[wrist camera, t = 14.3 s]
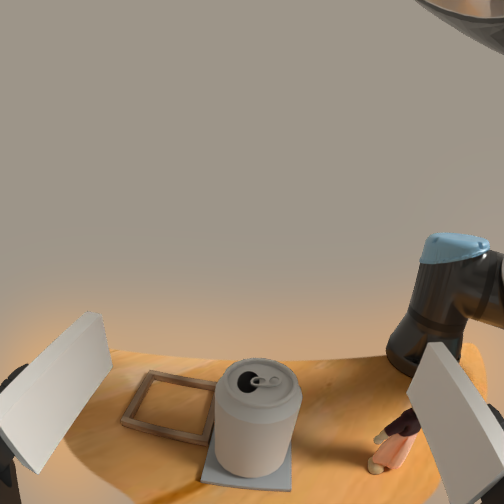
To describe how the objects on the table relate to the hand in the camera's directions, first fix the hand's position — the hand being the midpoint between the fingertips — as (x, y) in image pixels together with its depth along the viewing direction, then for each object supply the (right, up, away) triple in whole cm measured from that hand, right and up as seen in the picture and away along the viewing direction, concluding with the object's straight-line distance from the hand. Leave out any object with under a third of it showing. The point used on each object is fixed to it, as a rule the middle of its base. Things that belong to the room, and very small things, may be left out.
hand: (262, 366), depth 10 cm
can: (-1, -18, +15) cm, 23 cm away
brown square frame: (-10, -15, +22) cm, 29 cm away
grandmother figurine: (+15, -20, +14) cm, 29 cm away
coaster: (-1, -18, +16) cm, 24 cm away
